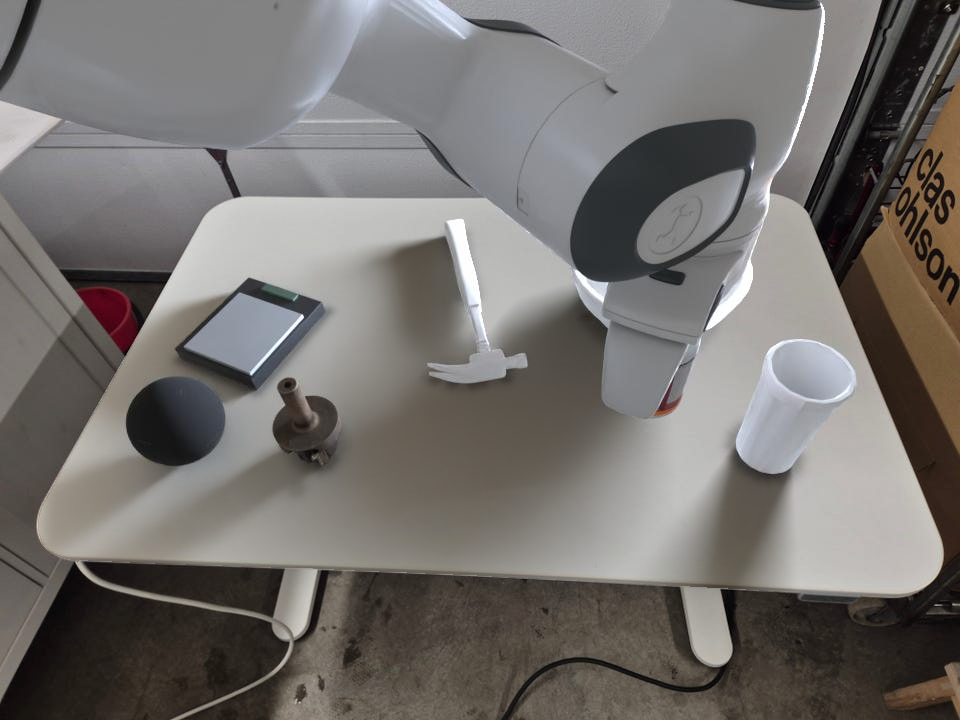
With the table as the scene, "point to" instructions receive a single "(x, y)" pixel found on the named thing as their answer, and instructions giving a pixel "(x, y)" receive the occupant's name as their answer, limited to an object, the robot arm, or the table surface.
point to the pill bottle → (678, 383)
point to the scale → (251, 332)
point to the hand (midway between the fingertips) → (653, 364)
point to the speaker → (175, 421)
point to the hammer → (484, 361)
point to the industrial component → (306, 424)
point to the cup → (792, 402)
